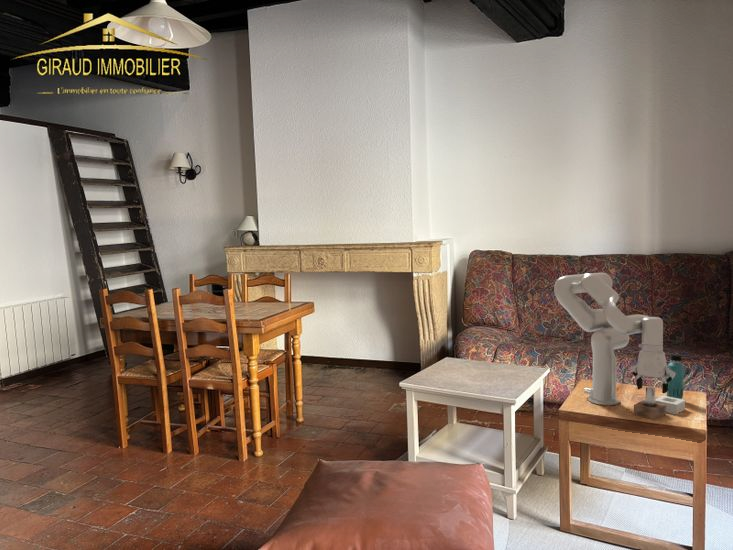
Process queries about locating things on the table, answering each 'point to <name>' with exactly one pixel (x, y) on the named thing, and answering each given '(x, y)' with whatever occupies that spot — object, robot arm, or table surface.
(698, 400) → the table surface
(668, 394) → the beverage bottle
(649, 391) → the steel peg
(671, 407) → the block
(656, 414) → the socket block
